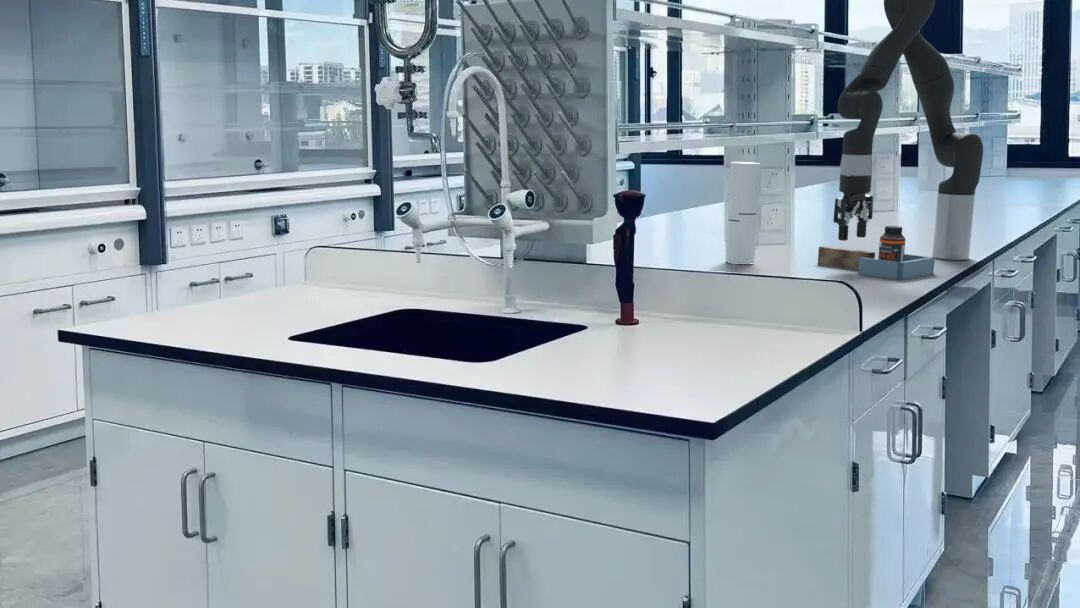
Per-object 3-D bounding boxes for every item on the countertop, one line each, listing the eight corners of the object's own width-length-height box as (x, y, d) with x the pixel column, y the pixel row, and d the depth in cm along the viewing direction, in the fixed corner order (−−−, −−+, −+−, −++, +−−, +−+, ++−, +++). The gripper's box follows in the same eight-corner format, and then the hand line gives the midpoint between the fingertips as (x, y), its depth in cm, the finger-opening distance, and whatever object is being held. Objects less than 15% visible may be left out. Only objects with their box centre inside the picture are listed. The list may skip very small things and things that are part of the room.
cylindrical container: (753, 265, 277) (760, 164, 273) (724, 264, 279) (730, 163, 274) (754, 261, 284) (760, 162, 280) (725, 260, 286) (731, 161, 281)
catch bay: (858, 273, 268) (859, 257, 267) (891, 268, 279) (893, 252, 278) (900, 280, 260) (901, 263, 259) (933, 273, 271) (934, 257, 270)
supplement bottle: (875, 273, 269) (878, 226, 267) (878, 270, 274) (881, 224, 272) (901, 275, 267) (905, 228, 265) (904, 272, 272) (907, 226, 270)
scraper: (809, 265, 281) (811, 247, 280) (831, 262, 288) (832, 244, 287) (867, 273, 269) (868, 255, 269) (888, 270, 276) (889, 252, 276)
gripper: (857, 170, 282) (853, 234, 285) (826, 173, 272) (823, 239, 275) (884, 172, 277) (880, 237, 280) (854, 175, 267) (850, 242, 270)
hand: (852, 238), depth 277 cm, fingers open, 8 cm apart
